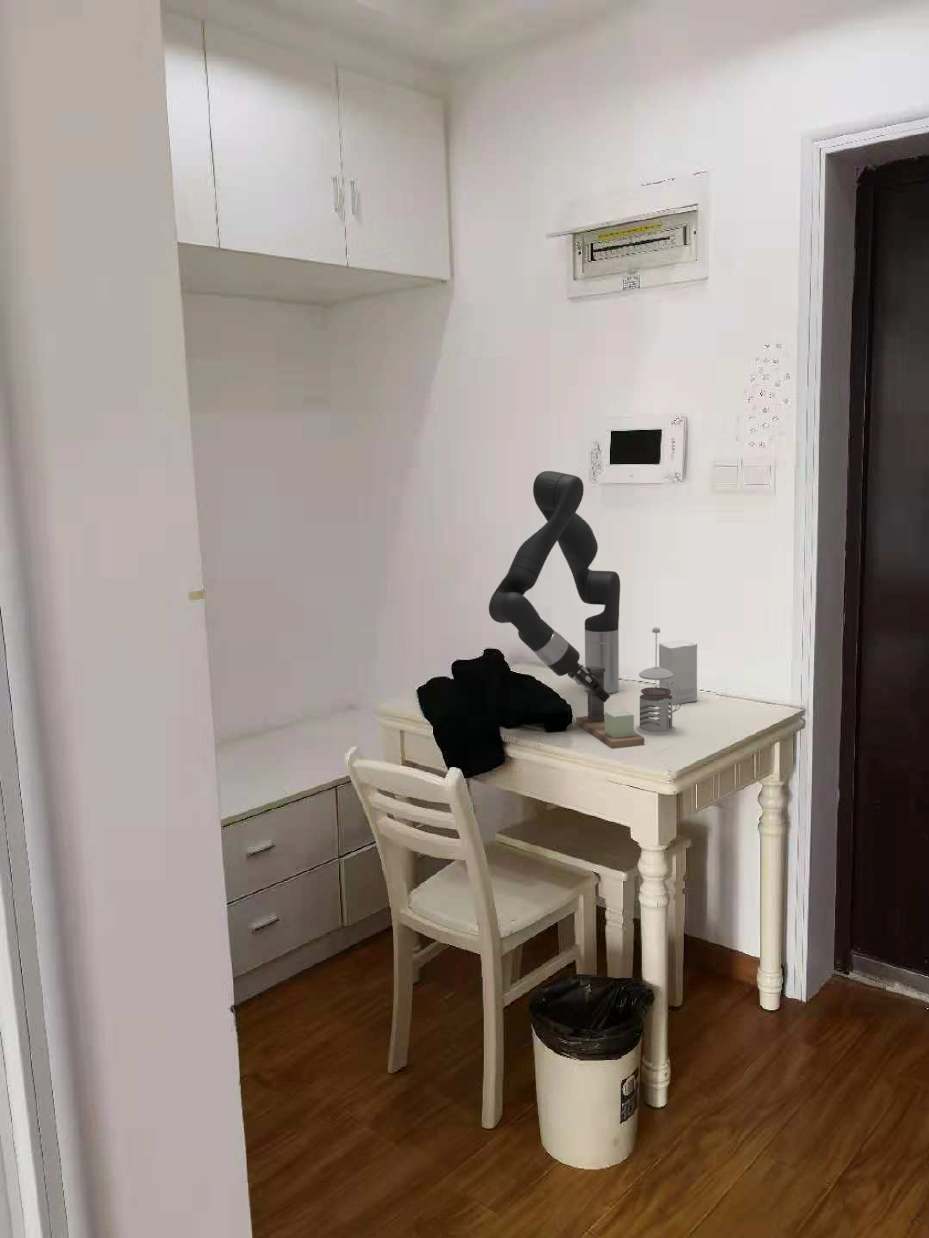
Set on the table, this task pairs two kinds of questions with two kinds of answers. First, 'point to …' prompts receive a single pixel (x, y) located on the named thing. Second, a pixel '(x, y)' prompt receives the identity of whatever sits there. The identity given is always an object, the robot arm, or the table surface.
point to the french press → (656, 701)
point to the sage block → (619, 723)
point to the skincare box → (680, 669)
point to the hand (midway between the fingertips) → (603, 696)
